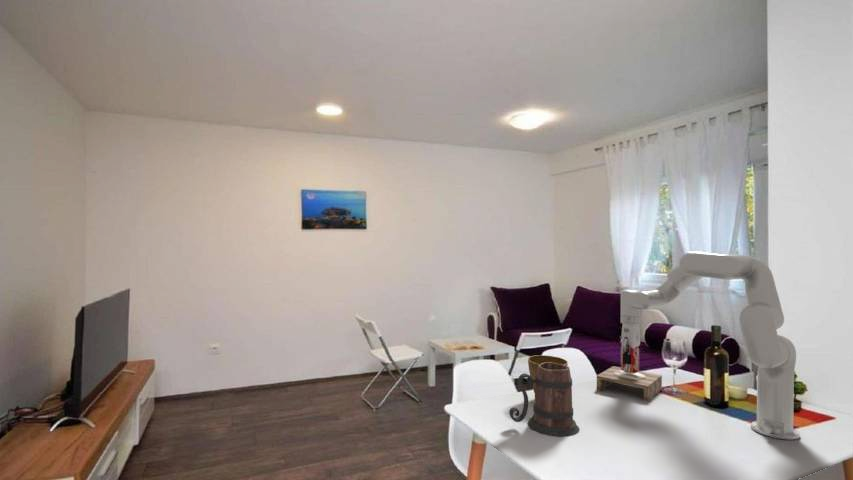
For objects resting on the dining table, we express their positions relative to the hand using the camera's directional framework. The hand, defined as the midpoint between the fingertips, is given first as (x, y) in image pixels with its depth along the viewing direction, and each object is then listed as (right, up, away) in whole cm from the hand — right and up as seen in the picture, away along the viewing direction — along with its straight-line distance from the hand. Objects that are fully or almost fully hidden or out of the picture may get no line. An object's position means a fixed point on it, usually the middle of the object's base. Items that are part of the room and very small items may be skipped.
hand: (630, 361), depth 189 cm
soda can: (0, -5, 0) cm, 5 cm away
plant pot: (-39, -11, -15) cm, 43 cm away
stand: (0, -12, 0) cm, 12 cm away
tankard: (-46, -11, -39) cm, 62 cm away
